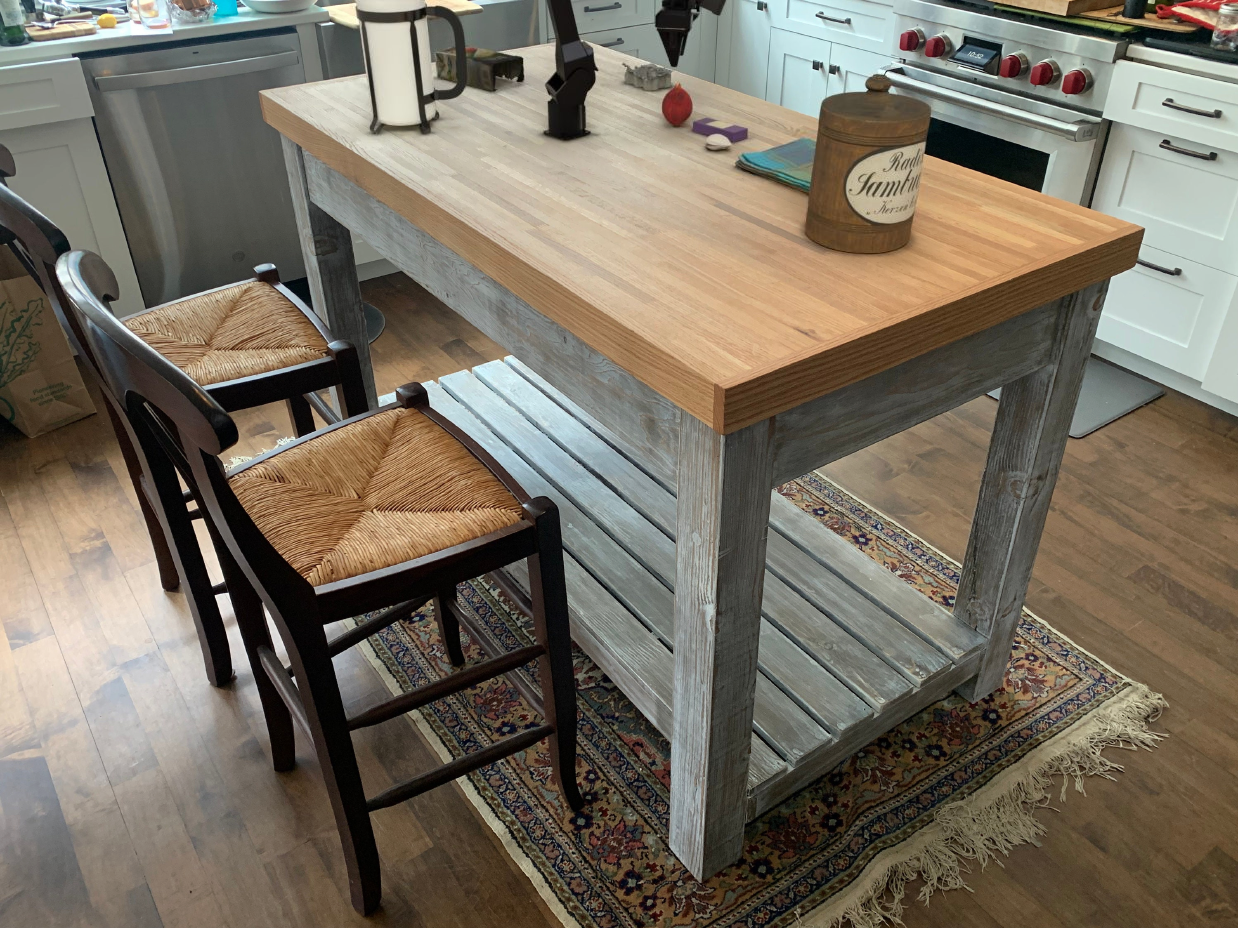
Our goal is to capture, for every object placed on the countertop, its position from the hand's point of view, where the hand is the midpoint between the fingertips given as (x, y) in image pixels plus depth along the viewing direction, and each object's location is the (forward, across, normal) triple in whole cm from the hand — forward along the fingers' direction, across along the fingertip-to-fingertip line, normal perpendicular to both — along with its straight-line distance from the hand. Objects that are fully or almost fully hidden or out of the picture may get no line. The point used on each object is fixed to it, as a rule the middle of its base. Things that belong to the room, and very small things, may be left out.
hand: (677, 61), depth 181 cm
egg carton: (+12, +29, +10) cm, 33 cm away
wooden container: (+12, -50, -33) cm, 61 cm away
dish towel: (+12, -25, -27) cm, 39 cm away
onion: (+12, -1, 0) cm, 12 cm away
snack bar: (+12, -5, -9) cm, 15 cm away
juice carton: (+12, +26, +46) cm, 55 cm away
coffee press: (+12, -9, +49) cm, 51 cm away
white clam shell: (+12, -14, -10) cm, 21 cm away
